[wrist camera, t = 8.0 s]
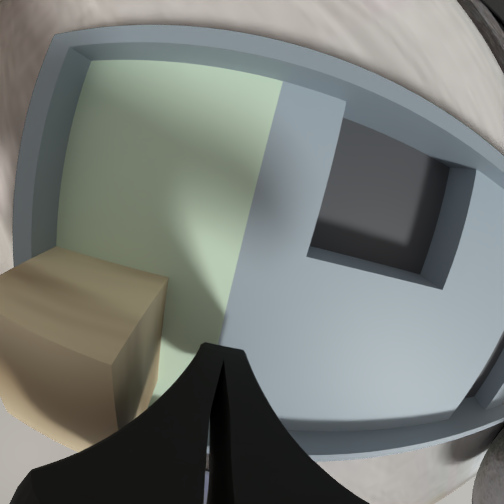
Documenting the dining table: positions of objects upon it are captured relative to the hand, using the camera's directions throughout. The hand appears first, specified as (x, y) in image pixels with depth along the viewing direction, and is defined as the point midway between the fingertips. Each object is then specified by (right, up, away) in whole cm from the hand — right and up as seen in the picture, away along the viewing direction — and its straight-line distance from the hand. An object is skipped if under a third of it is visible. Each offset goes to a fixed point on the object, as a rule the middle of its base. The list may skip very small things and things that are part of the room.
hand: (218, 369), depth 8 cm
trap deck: (+8, +1, +3) cm, 9 cm away
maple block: (-4, +1, +1) cm, 5 cm away
